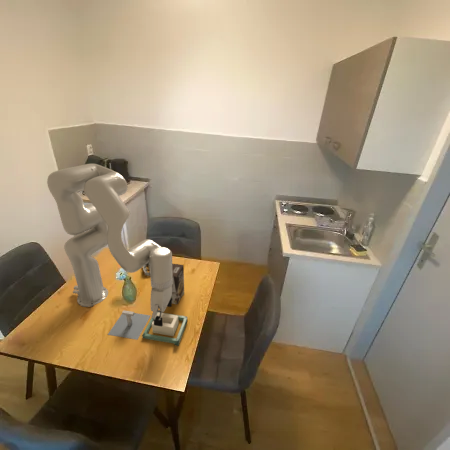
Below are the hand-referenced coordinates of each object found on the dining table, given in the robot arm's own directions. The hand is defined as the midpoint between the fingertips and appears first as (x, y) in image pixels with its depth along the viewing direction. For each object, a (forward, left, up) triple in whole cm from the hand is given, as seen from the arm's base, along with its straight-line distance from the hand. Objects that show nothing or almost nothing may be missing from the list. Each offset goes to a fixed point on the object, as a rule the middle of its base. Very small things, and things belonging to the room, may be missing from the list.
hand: (163, 315), depth 96 cm
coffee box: (-2, +18, -8) cm, 20 cm away
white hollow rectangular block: (+1, 0, -7) cm, 7 cm away
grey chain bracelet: (-21, +36, -8) cm, 42 cm away
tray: (+1, 0, -8) cm, 8 cm away
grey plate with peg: (-14, -1, -8) cm, 16 cm away
